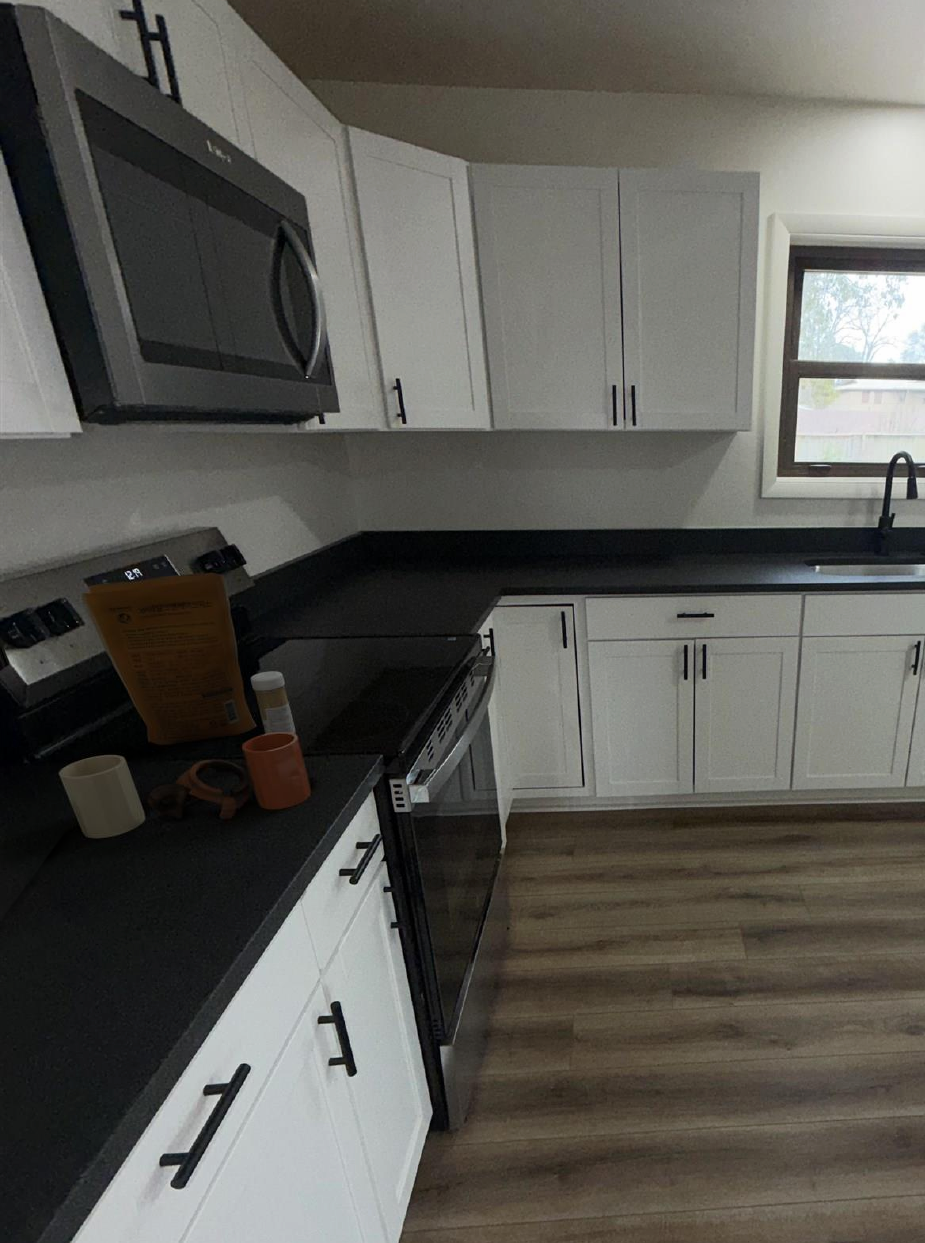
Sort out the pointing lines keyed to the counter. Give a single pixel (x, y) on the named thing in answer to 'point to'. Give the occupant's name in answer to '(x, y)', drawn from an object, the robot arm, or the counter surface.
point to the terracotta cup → (277, 770)
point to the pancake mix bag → (174, 654)
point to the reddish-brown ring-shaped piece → (201, 790)
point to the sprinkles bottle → (273, 702)
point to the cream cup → (103, 796)
